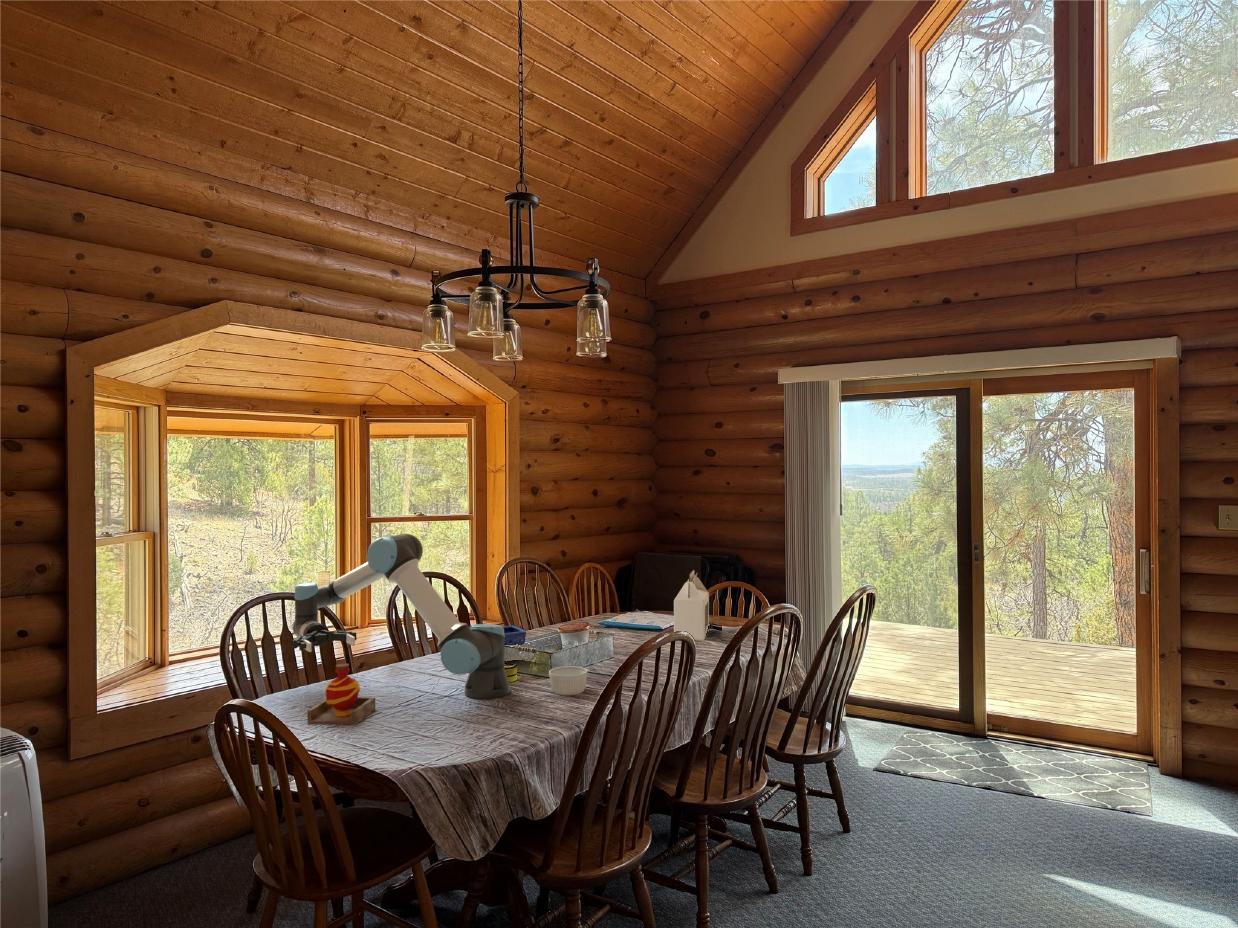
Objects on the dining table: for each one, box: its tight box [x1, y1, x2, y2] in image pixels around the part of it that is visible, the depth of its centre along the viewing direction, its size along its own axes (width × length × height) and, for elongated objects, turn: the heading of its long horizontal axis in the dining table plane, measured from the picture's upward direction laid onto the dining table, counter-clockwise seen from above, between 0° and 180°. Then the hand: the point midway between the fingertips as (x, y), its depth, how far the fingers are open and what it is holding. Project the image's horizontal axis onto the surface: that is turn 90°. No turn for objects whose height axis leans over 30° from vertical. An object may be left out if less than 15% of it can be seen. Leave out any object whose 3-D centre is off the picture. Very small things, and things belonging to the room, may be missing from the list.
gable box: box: [673, 569, 710, 641], centre depth 370 cm, size 22×13×28 cm, turn 168°
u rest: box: [306, 696, 376, 726], centre depth 254 cm, size 15×15×4 cm
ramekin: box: [548, 665, 588, 696], centre depth 282 cm, size 13×13×7 cm
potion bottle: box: [325, 663, 361, 716], centre depth 255 cm, size 10×10×15 cm
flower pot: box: [502, 625, 527, 647], centre depth 325 cm, size 13×13×12 cm
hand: (332, 644), depth 262 cm, fingers open, 13 cm apart
